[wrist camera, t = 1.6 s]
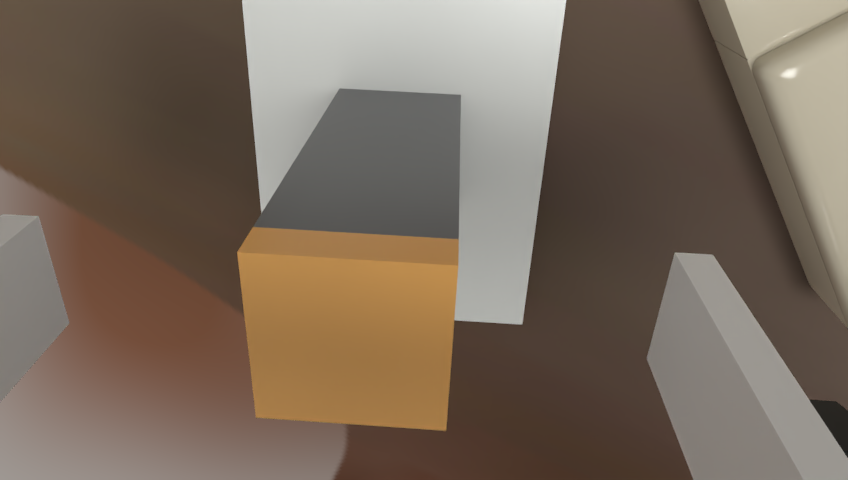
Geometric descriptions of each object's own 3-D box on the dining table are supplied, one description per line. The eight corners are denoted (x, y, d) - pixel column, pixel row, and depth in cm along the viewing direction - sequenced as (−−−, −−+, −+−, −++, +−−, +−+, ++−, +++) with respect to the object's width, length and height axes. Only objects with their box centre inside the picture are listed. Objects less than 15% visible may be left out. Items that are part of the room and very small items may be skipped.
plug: (453, 205, 23) (446, 430, 14) (342, 198, 23) (255, 417, 14) (460, 94, 21) (458, 265, 12) (339, 88, 21) (236, 252, 12)
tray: (521, 317, 26) (522, 324, 25) (273, 301, 26) (269, 308, 26) (573, -71, 19) (575, -70, 19) (239, -86, 20) (234, -86, 19)
